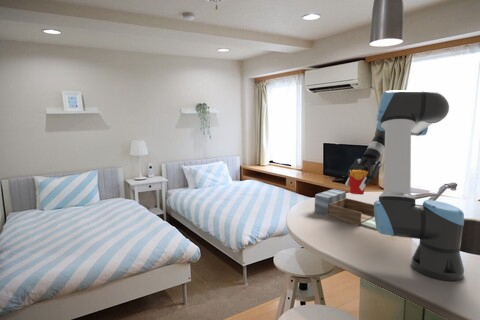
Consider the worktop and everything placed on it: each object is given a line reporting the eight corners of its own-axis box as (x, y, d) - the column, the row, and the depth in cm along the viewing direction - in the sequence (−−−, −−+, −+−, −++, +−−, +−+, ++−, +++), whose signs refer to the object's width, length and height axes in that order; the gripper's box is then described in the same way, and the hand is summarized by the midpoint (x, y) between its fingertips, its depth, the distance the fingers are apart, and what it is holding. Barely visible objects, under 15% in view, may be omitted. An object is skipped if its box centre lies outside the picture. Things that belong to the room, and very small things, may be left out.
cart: (376, 230, 139) (378, 209, 137) (314, 212, 163) (315, 194, 162) (392, 221, 150) (394, 202, 149) (332, 205, 175) (333, 189, 173)
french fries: (348, 193, 153) (349, 170, 151) (348, 191, 157) (349, 168, 155) (366, 195, 150) (368, 171, 148) (366, 193, 154) (367, 169, 152)
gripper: (395, 159, 152) (375, 196, 145) (358, 154, 168) (339, 187, 161) (390, 149, 148) (369, 187, 141) (353, 145, 164) (333, 179, 157)
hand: (353, 187), depth 151 cm, fingers closed on french fries, 7 cm apart
